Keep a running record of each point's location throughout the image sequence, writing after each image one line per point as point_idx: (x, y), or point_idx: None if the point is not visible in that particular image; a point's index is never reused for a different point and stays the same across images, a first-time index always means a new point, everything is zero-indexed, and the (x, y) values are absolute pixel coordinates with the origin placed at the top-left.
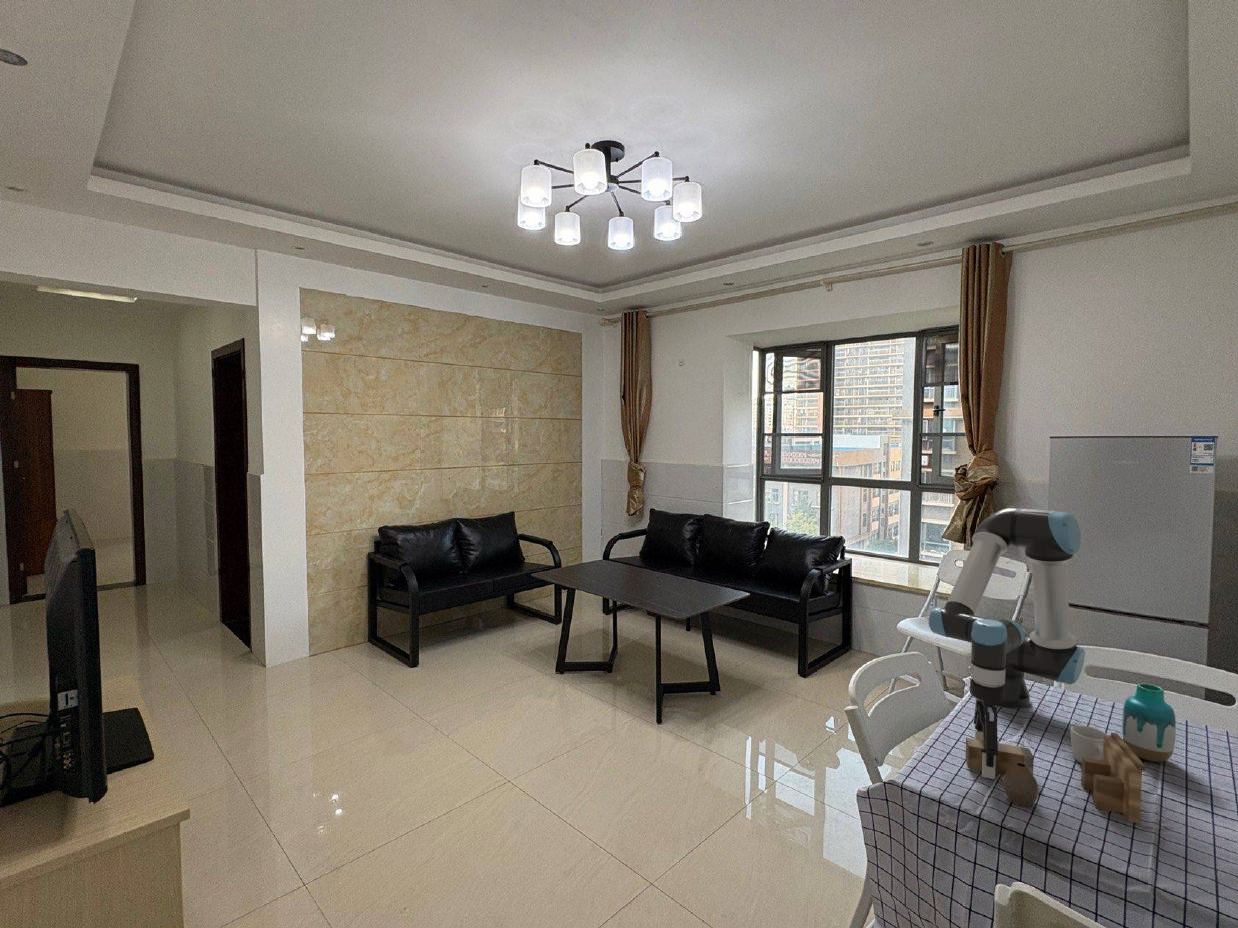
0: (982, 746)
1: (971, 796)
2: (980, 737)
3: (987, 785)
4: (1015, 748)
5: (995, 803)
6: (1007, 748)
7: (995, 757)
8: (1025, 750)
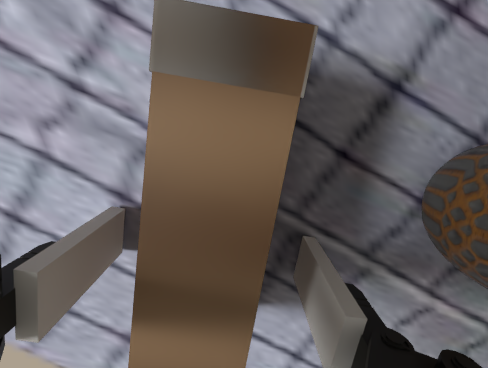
0: (227, 334)
1: (438, 348)
2: (64, 287)
3: (358, 275)
4: (197, 121)
5: (478, 288)
6: (213, 183)
7: (354, 300)
8: (210, 49)
